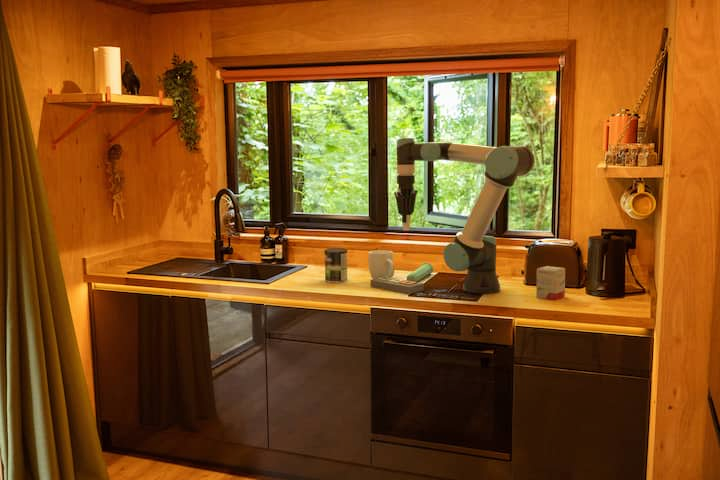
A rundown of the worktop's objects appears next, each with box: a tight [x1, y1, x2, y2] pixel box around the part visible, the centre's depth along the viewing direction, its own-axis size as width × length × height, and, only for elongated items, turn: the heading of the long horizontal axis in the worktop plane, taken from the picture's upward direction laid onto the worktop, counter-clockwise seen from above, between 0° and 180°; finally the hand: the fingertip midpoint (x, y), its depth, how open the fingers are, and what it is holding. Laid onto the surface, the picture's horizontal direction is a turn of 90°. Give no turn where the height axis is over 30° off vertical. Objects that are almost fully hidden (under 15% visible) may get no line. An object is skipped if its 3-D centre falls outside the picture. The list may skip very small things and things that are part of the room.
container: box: [406, 262, 434, 283], centre depth 324 cm, size 6×6×25 cm
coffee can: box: [323, 247, 348, 284], centre depth 323 cm, size 10×10×14 cm
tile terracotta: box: [400, 281, 417, 286], centre depth 301 cm, size 5×5×4 cm
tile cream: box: [388, 278, 406, 284], centre depth 305 cm, size 5×5×4 cm
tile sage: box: [377, 277, 394, 282], centre depth 309 cm, size 5×5×4 cm
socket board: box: [370, 278, 425, 295], centre depth 305 cm, size 22×9×3 cm, turn 46°
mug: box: [367, 249, 395, 280], centre depth 319 cm, size 15×11×13 cm
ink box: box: [535, 265, 566, 301], centre depth 285 cm, size 9×9×12 cm
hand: (406, 230), depth 306 cm, fingers closed
